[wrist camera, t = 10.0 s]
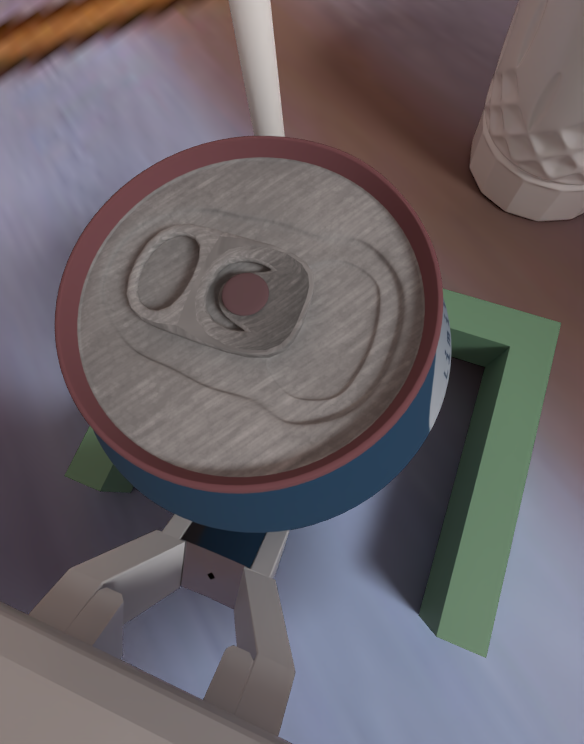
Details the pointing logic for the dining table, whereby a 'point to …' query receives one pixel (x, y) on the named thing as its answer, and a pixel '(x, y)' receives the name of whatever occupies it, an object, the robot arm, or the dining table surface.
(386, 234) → the soda can
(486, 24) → the dining table surface
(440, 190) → the dining table surface
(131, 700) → the robot arm
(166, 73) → the dining table surface
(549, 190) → the white cup
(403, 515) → the dining table surface
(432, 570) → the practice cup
